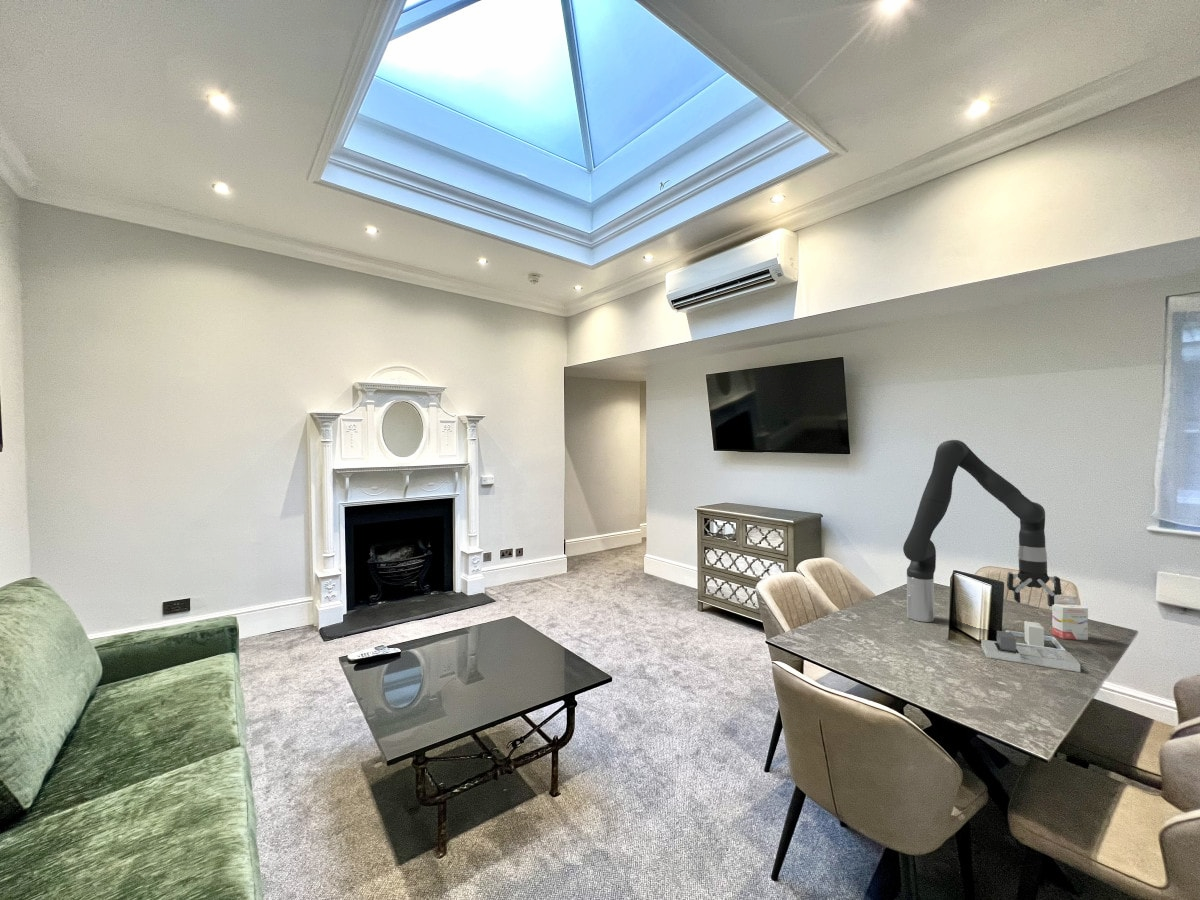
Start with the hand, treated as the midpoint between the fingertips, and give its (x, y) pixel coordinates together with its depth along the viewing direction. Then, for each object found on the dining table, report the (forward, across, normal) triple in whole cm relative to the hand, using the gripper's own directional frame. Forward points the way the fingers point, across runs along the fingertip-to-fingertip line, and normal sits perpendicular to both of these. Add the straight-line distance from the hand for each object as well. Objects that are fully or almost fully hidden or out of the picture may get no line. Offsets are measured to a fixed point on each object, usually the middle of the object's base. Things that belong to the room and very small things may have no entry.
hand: (1033, 604), depth 171 cm
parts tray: (+14, 0, 0) cm, 14 cm away
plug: (+14, 0, 0) cm, 14 cm away
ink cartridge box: (+15, +13, +14) cm, 24 cm away
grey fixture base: (+14, -5, -16) cm, 22 cm away
